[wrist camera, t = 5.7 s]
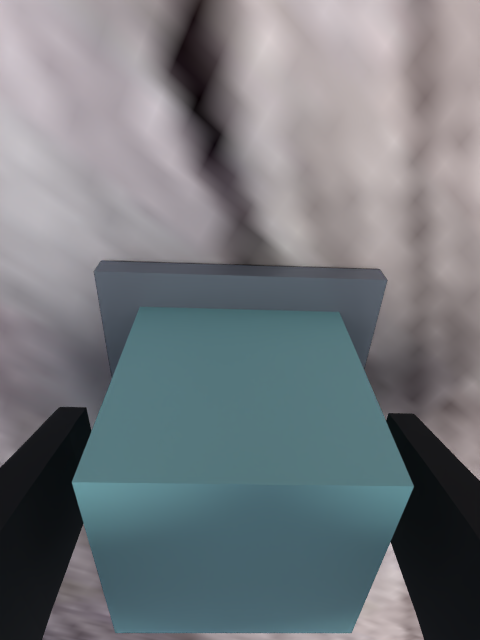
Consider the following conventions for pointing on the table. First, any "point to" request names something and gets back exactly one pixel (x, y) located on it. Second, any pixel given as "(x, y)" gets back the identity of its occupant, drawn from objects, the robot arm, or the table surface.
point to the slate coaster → (236, 294)
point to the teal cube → (239, 475)
